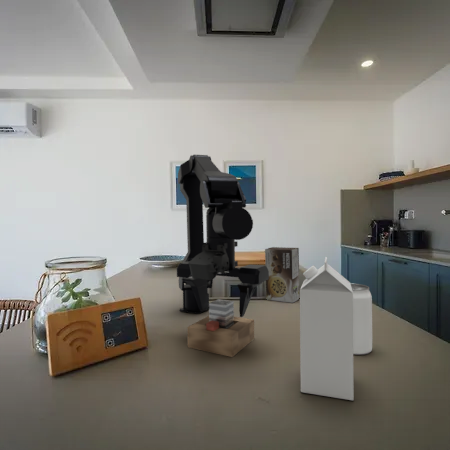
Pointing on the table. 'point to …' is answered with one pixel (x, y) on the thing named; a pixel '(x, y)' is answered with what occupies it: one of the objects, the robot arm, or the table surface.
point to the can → (362, 319)
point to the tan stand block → (220, 336)
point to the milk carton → (326, 333)
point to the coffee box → (282, 274)
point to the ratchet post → (222, 313)
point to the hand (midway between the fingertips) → (221, 313)
